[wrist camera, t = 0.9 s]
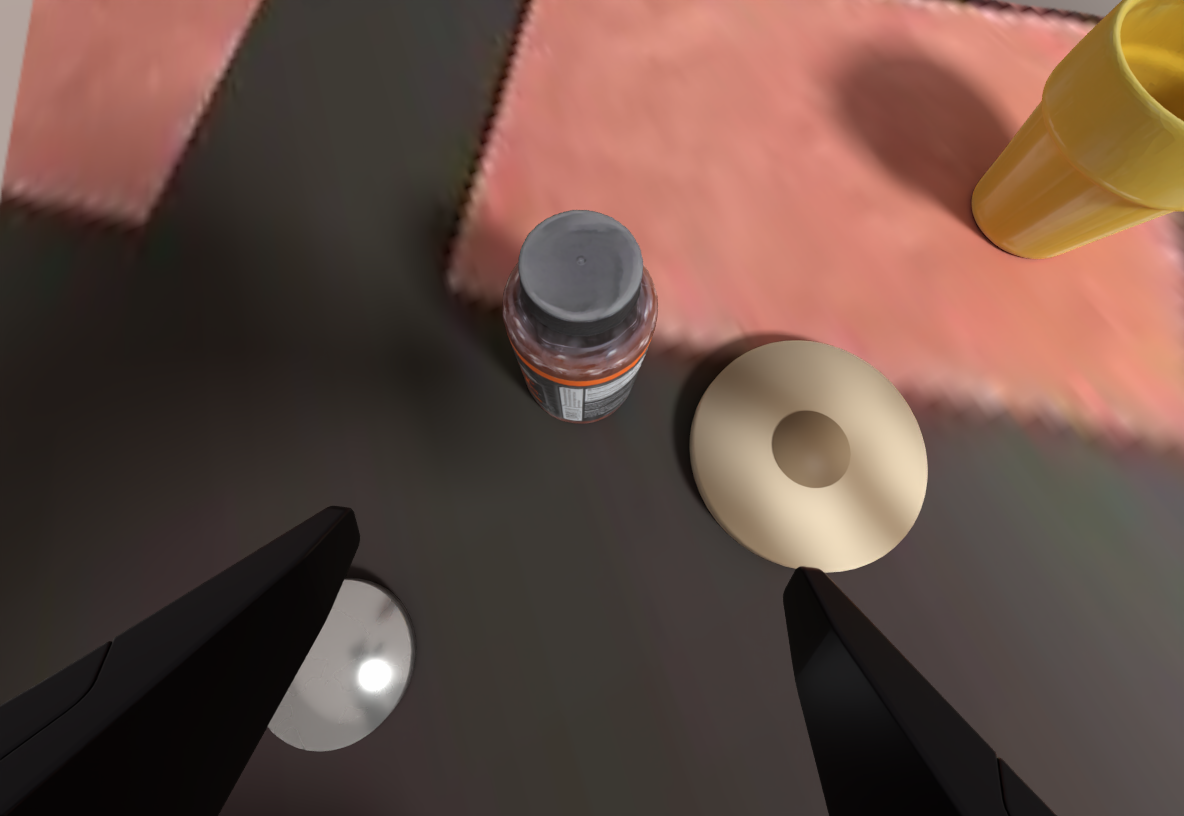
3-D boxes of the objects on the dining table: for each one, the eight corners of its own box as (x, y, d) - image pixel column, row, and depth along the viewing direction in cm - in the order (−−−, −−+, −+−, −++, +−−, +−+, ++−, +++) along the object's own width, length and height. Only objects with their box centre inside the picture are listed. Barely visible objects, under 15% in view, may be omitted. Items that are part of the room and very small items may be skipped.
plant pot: (969, 122, 30) (1147, -61, 21) (1120, 192, 29) (1380, 32, 20) (915, 235, 28) (1087, 86, 18) (1076, 316, 27) (1349, 202, 17)
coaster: (839, 622, 22) (854, 628, 21) (644, 470, 24) (648, 467, 23) (949, 435, 25) (968, 430, 23) (766, 309, 26) (775, 299, 25)
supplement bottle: (512, 343, 25) (462, 206, 14) (611, 312, 26) (634, 158, 15) (545, 442, 24) (517, 373, 13) (649, 406, 25) (704, 312, 14)
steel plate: (338, 779, 20) (328, 789, 19) (232, 671, 21) (218, 677, 20) (447, 642, 21) (442, 647, 21) (343, 547, 22) (334, 548, 22)
